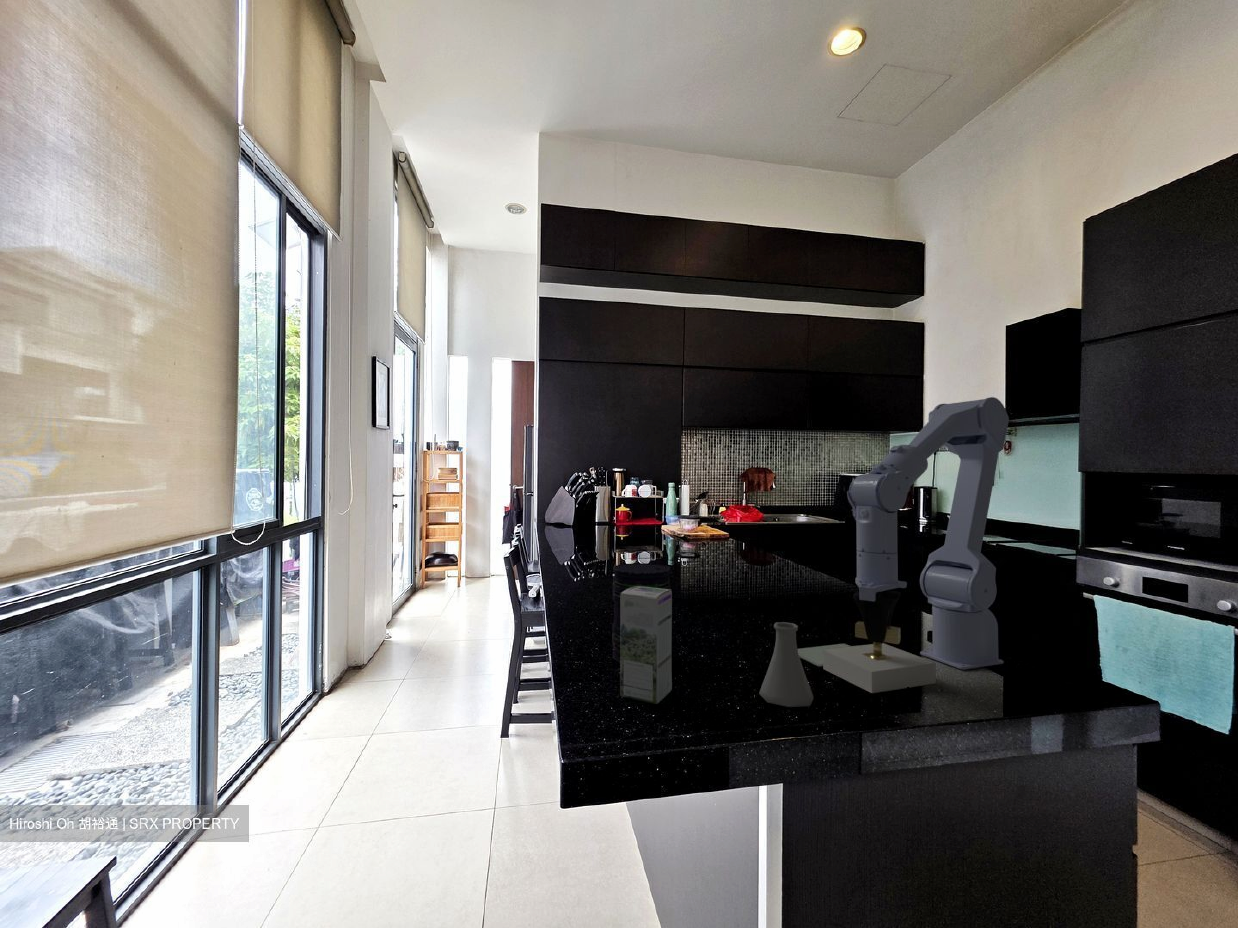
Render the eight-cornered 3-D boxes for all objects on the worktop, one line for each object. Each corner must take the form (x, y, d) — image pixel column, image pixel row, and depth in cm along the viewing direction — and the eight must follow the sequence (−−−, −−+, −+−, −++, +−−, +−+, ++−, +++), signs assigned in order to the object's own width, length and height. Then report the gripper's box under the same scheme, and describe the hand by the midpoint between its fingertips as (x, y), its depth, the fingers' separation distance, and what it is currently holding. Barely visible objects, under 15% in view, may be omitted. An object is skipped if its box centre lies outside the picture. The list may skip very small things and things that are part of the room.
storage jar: (603, 662, 86) (604, 570, 87) (622, 644, 96) (622, 561, 96) (662, 669, 83) (663, 574, 84) (675, 650, 92) (676, 565, 93)
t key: (855, 672, 82) (854, 624, 82) (858, 668, 84) (858, 621, 84) (898, 682, 78) (897, 631, 78) (900, 677, 80) (900, 627, 80)
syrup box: (673, 690, 75) (673, 587, 75) (656, 706, 70) (657, 595, 70) (636, 683, 78) (637, 584, 78) (618, 697, 72) (618, 591, 73)
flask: (818, 711, 68) (818, 634, 69) (760, 706, 70) (760, 630, 70) (809, 689, 76) (809, 619, 76) (757, 685, 77) (757, 616, 77)
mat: (844, 645, 96) (844, 643, 96) (876, 658, 89) (876, 657, 89) (788, 651, 92) (788, 650, 92) (818, 666, 85) (818, 664, 85)
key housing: (882, 661, 88) (882, 643, 88) (935, 683, 78) (935, 662, 78) (823, 669, 84) (823, 649, 84) (871, 693, 74) (871, 671, 74)
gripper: (897, 559, 73) (898, 657, 73) (913, 548, 85) (913, 633, 85) (844, 554, 78) (844, 647, 77) (865, 545, 89) (866, 625, 89)
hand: (877, 639), depth 81 cm, fingers closed on t key, 2 cm apart
